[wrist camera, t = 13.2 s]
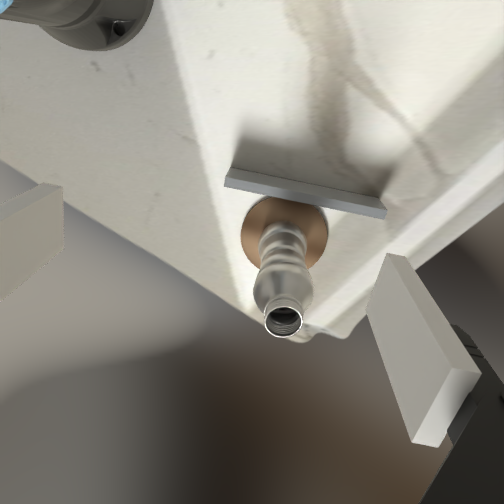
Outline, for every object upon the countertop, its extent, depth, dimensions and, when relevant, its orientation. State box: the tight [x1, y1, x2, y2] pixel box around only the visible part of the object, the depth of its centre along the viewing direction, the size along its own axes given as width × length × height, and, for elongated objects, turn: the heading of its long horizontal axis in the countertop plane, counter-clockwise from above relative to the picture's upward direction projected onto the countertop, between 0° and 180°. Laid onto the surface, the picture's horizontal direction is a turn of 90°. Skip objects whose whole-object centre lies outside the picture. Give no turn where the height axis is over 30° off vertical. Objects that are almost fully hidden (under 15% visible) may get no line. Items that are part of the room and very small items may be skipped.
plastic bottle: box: [253, 221, 314, 338], centre depth 46 cm, size 6×7×20 cm
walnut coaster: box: [241, 197, 327, 269], centre depth 55 cm, size 12×12×1 cm
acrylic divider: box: [224, 167, 388, 219], centre depth 50 cm, size 1×20×5 cm, turn 79°
